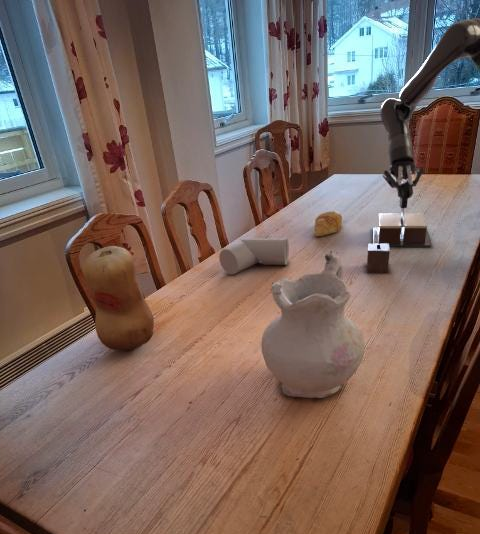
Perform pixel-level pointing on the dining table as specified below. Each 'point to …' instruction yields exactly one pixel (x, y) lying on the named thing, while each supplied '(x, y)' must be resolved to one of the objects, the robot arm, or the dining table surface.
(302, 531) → the dining table surface
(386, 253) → the knife block
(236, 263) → the bent grey cylinder
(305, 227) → the dining table surface
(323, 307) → the ceramic pitcher
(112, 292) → the butternut squash
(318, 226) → the croissant
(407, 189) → the knife
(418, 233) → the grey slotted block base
